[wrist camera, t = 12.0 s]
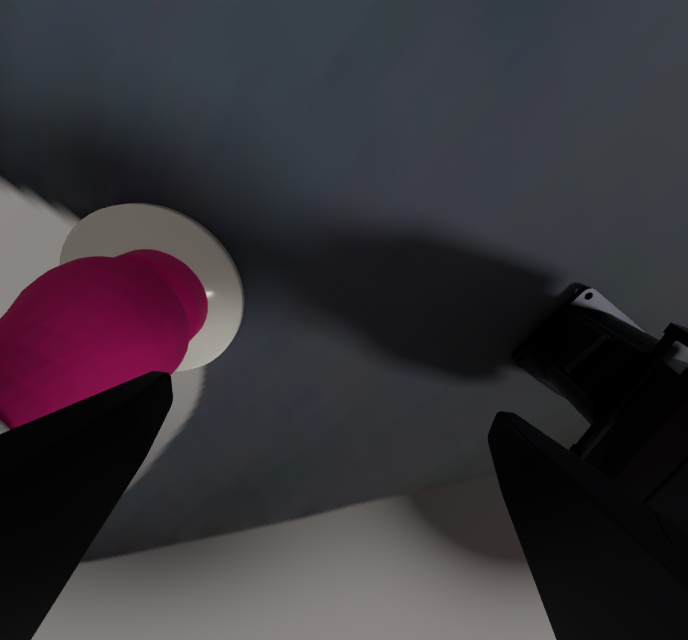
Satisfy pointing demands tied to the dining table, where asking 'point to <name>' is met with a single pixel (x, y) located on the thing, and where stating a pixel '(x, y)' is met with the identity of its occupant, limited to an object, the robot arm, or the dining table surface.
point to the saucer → (184, 244)
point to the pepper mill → (95, 330)
